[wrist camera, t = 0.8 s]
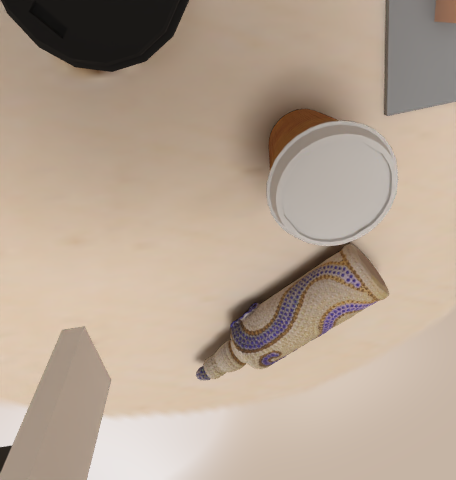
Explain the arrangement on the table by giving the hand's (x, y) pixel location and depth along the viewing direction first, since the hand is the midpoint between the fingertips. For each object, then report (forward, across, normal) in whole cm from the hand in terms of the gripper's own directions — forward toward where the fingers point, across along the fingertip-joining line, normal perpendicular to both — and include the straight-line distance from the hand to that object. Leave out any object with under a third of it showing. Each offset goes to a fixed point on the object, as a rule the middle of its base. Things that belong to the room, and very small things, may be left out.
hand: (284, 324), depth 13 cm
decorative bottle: (+27, +2, -23) cm, 35 cm away
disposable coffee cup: (+27, +6, -3) cm, 28 cm away
